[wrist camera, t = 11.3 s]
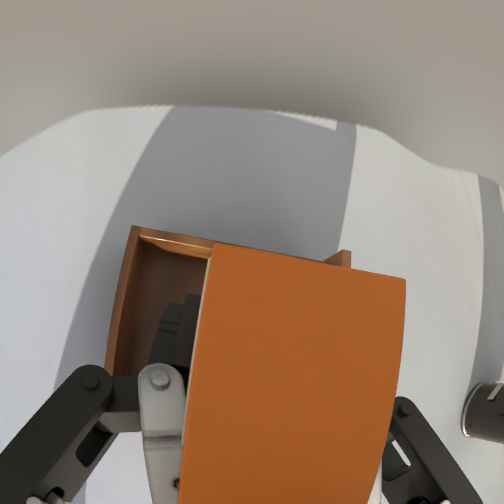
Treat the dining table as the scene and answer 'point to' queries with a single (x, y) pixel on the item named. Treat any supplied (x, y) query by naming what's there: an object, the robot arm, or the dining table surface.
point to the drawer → (160, 290)
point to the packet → (289, 381)
